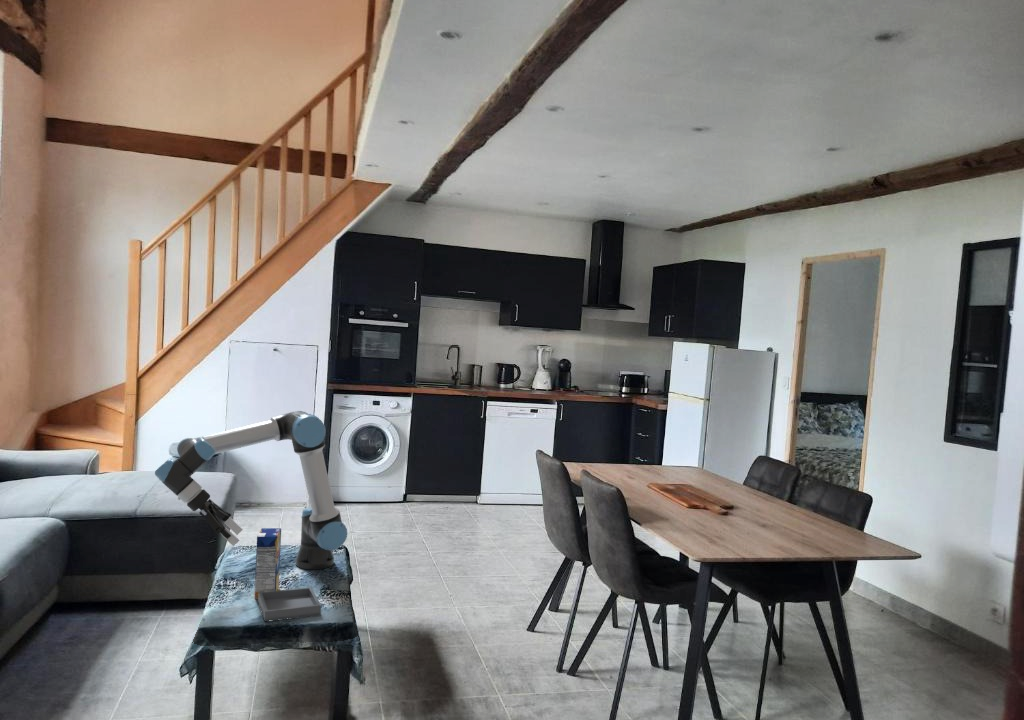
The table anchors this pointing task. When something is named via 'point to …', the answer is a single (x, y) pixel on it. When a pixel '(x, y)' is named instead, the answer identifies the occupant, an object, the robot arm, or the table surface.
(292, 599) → the tray
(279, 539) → the beverage box
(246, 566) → the table surface
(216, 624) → the table surface
